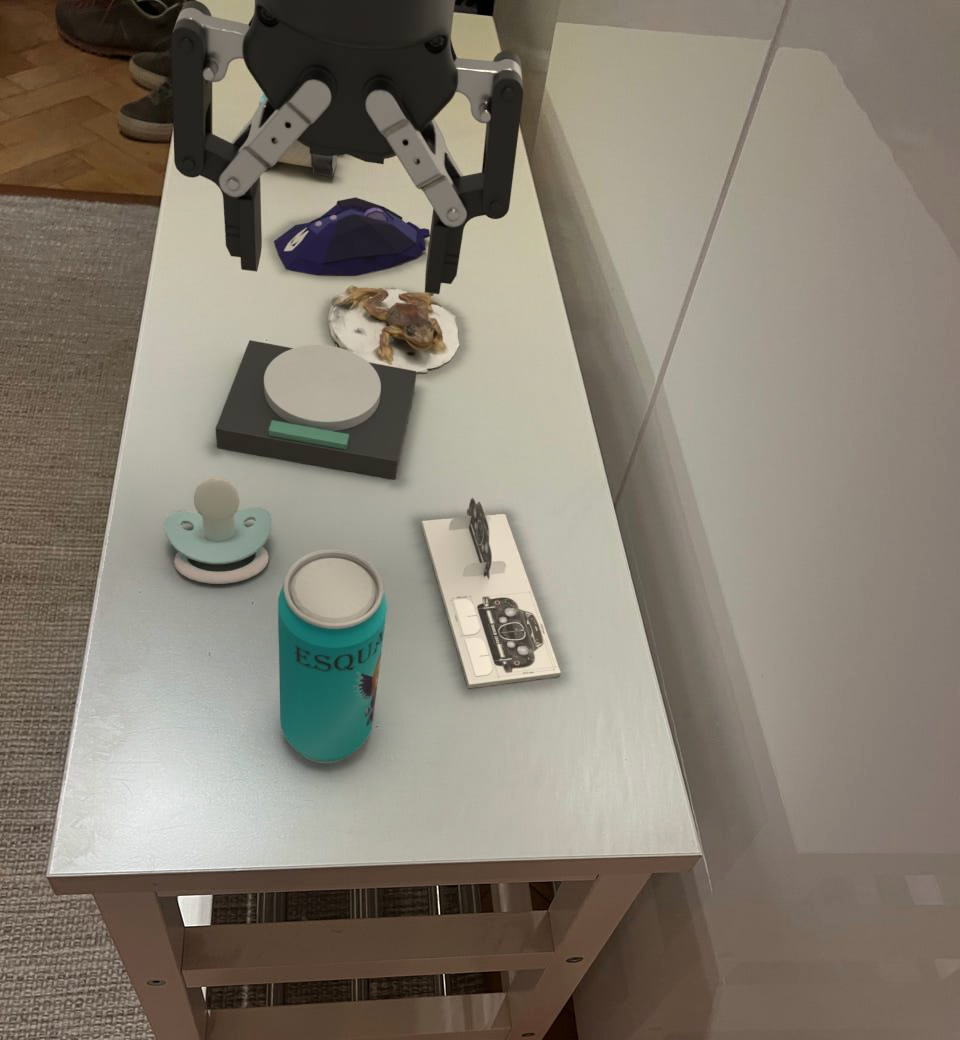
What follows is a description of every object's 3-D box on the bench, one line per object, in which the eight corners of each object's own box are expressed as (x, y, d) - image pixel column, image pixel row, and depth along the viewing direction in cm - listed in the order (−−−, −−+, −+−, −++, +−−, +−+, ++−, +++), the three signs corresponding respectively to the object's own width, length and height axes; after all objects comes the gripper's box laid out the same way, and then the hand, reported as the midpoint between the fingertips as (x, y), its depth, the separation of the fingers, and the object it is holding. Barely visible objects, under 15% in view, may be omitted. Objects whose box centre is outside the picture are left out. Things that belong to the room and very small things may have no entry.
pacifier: (277, 585, 70) (269, 520, 73) (276, 527, 65) (268, 460, 68) (169, 592, 68) (166, 525, 71) (159, 534, 63) (156, 465, 66)
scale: (216, 447, 77) (214, 418, 74) (250, 359, 83) (248, 329, 81) (395, 479, 78) (398, 451, 75) (414, 389, 84) (417, 361, 82)
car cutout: (421, 524, 75) (427, 482, 72) (504, 517, 77) (514, 476, 73) (467, 688, 67) (477, 650, 64) (559, 676, 69) (574, 638, 65)
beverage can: (367, 776, 62) (385, 635, 50) (274, 768, 61) (270, 624, 50) (374, 699, 66) (392, 550, 54) (286, 691, 65) (285, 538, 53)
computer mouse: (264, 223, 95) (263, 184, 92) (410, 212, 100) (414, 174, 97) (290, 281, 90) (290, 242, 87) (442, 267, 95) (447, 229, 92)
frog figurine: (486, 359, 88) (493, 323, 85) (363, 387, 83) (365, 350, 80) (429, 284, 93) (434, 247, 90) (310, 306, 89) (311, 268, 86)
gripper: (557, -140, 37) (489, 247, 50) (169, -213, 35) (201, 208, 48) (570, -62, 33) (491, 341, 46) (126, -141, 31) (175, 301, 44)
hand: (342, 272), depth 47 cm, fingers open, 8 cm apart
